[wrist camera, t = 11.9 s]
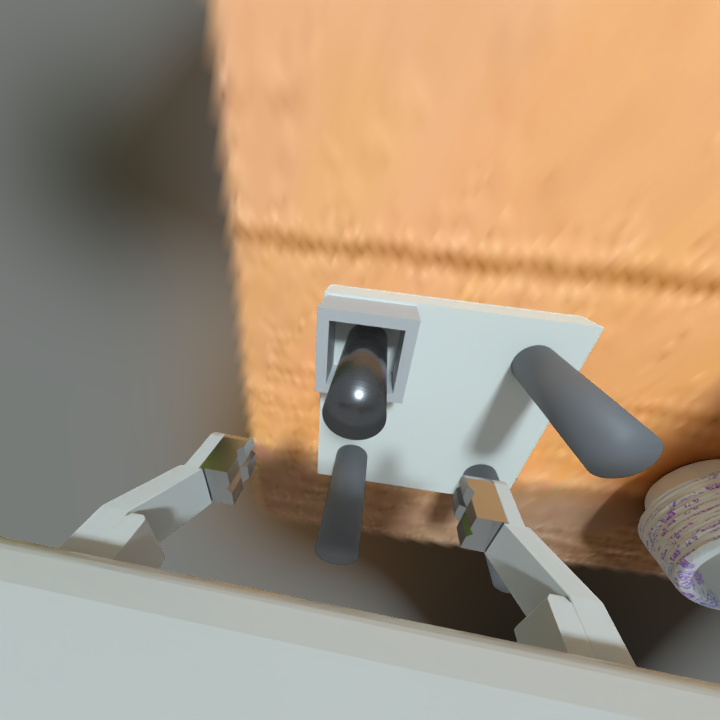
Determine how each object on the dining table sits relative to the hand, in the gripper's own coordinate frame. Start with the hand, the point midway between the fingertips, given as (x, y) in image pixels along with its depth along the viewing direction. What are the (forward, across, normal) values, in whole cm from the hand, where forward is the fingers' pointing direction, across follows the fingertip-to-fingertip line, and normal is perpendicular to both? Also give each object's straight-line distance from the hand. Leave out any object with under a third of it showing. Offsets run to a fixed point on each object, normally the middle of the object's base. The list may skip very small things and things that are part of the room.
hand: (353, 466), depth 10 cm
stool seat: (+15, -6, +7) cm, 17 cm away
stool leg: (+12, +1, 0) cm, 12 cm away
